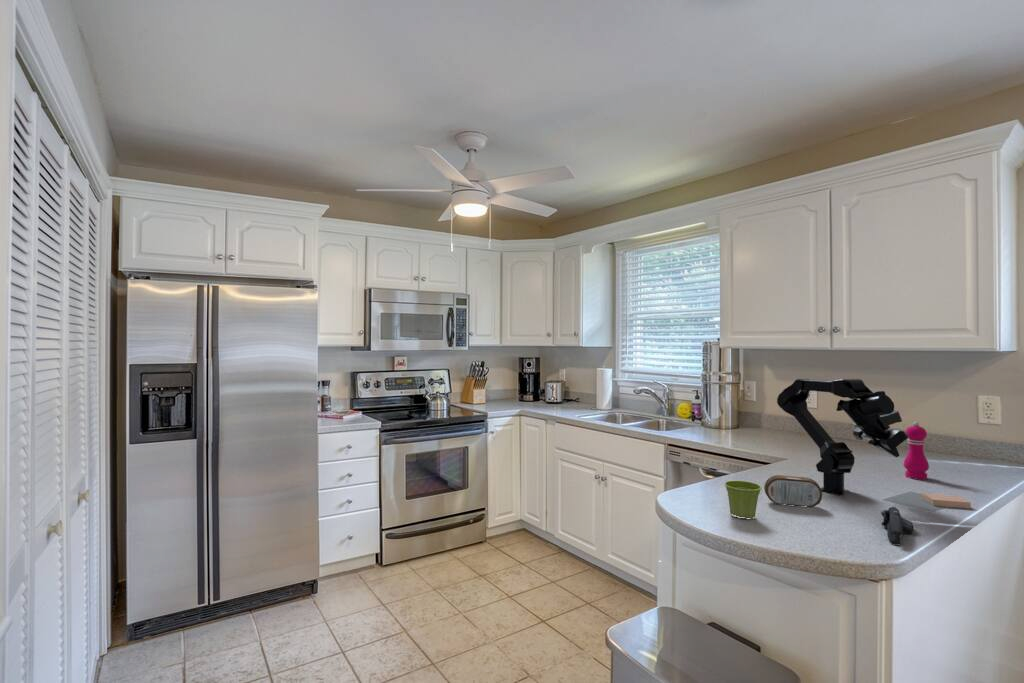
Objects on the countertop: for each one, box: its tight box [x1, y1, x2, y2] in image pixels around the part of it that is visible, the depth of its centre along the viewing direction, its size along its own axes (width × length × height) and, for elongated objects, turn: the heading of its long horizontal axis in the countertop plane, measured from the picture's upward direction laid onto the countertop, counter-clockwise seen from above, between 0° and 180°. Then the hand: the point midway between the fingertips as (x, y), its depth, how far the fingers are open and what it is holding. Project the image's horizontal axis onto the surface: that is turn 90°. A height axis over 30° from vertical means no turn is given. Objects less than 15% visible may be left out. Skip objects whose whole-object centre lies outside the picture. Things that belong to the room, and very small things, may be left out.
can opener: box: [879, 506, 915, 545], centre depth 131 cm, size 18×7×6 cm, turn 142°
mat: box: [882, 491, 946, 513], centre depth 158 cm, size 18×13×1 cm
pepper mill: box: [903, 421, 930, 480], centre depth 189 cm, size 7×7×20 cm
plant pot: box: [724, 480, 763, 518], centre depth 144 cm, size 9×9×9 cm
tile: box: [921, 492, 972, 509], centre depth 155 cm, size 2×7×9 cm
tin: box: [764, 474, 823, 508], centre depth 155 cm, size 15×3×8 cm, turn 71°
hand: (897, 456), depth 161 cm, fingers closed
